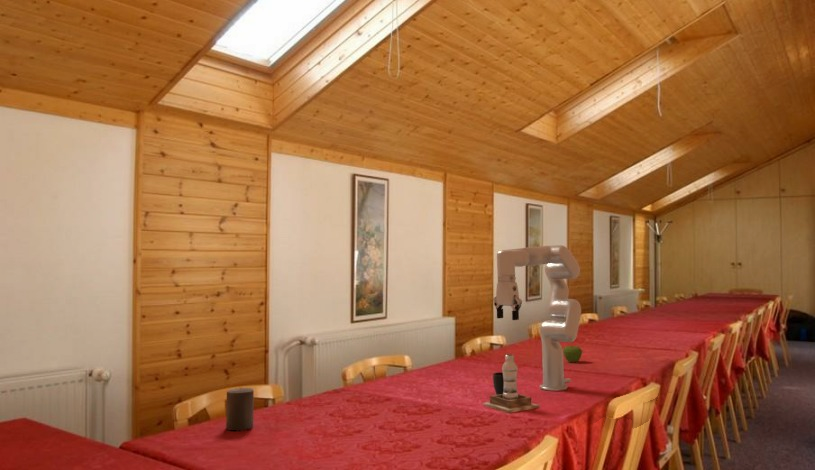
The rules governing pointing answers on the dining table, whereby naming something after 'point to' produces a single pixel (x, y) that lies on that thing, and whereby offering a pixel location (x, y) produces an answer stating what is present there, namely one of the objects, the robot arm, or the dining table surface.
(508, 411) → the bottle stand
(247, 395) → the dark grey cylinder
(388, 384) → the dining table surface
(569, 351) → the apple
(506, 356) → the plastic bottle
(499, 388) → the mug
